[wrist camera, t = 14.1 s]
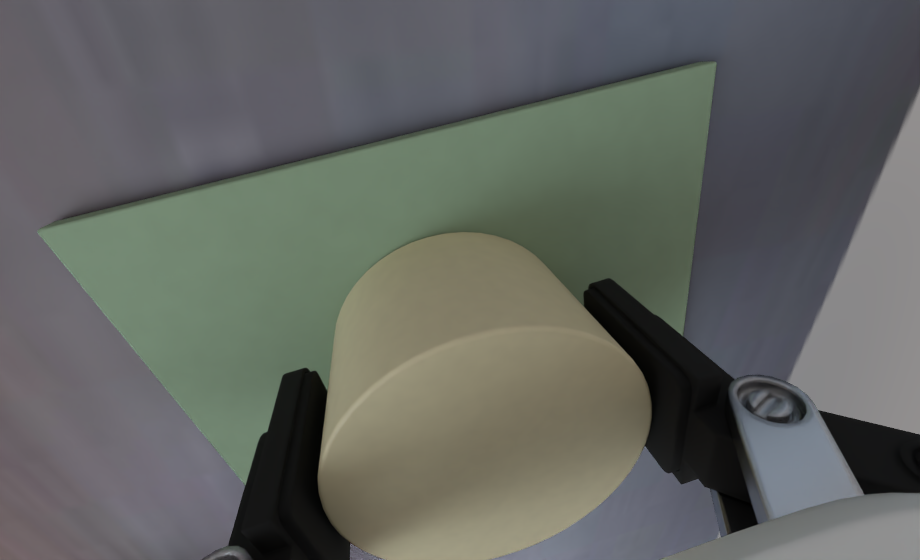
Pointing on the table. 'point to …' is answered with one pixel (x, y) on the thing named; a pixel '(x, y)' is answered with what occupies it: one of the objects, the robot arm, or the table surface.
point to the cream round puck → (472, 405)
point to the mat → (391, 236)
